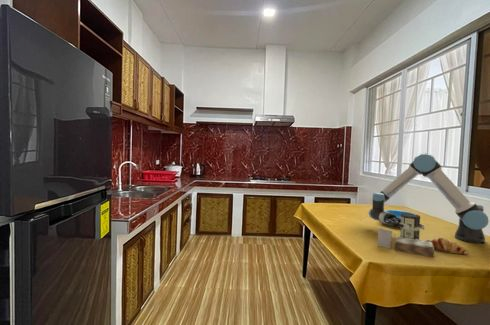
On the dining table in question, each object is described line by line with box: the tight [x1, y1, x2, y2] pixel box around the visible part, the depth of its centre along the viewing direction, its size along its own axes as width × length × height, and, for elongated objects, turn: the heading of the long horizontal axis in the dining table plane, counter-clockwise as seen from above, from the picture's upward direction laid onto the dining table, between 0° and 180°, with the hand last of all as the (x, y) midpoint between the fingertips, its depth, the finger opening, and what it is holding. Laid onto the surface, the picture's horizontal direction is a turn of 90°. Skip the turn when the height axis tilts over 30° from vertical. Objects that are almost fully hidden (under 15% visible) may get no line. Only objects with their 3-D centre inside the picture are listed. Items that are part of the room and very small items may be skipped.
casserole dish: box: [384, 209, 415, 228], centre depth 211 cm, size 37×22×7 cm, turn 148°
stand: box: [394, 236, 435, 258], centre depth 150 cm, size 18×11×5 cm, turn 59°
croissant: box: [426, 237, 470, 255], centre depth 152 cm, size 21×10×8 cm, turn 49°
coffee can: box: [399, 213, 421, 240], centre depth 164 cm, size 10×10×14 cm
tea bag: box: [376, 228, 393, 249], centre depth 155 cm, size 4×7×10 cm, turn 52°
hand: (415, 227), depth 160 cm, fingers closed on coffee can, 10 cm apart
